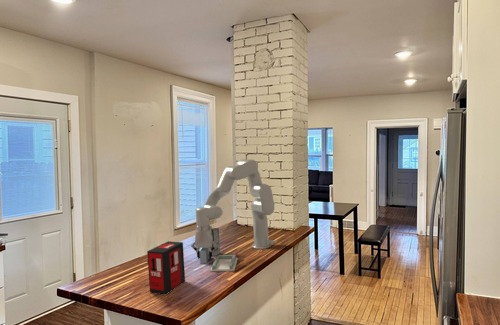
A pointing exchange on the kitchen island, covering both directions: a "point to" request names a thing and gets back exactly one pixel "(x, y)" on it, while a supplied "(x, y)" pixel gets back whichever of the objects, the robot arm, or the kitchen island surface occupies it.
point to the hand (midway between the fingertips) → (204, 257)
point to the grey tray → (224, 263)
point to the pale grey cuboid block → (204, 255)
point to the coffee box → (216, 239)
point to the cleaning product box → (166, 267)
